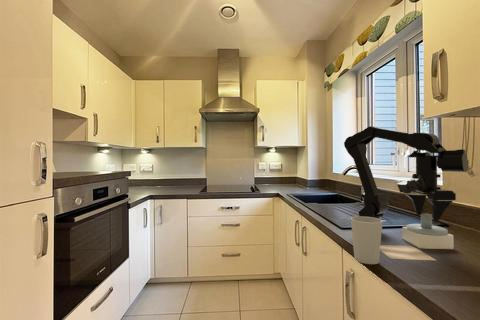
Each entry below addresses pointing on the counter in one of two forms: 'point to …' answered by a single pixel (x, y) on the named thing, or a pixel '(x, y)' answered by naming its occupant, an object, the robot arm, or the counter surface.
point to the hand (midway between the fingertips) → (426, 218)
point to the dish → (428, 240)
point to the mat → (404, 253)
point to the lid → (427, 227)
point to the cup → (366, 239)
